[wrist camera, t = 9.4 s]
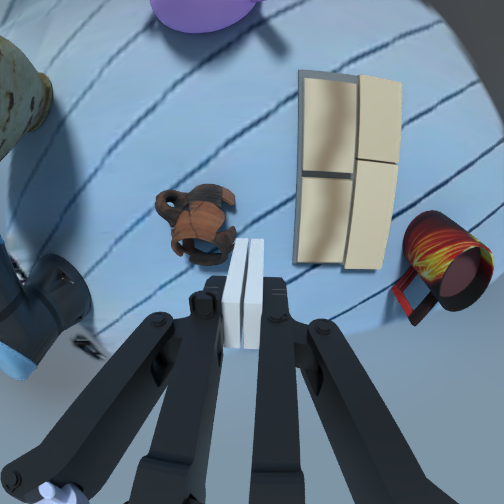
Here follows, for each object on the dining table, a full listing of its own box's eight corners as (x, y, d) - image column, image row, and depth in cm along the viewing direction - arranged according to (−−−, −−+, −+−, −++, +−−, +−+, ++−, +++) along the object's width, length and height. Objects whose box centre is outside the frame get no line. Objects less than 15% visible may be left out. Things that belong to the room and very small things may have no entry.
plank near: (301, 168, 33) (303, 170, 32) (302, 79, 28) (304, 77, 26) (350, 171, 32) (353, 173, 31) (353, 85, 27) (356, 83, 26)
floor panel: (292, 260, 40) (293, 267, 38) (298, 70, 28) (299, 67, 26) (376, 261, 39) (381, 269, 37) (395, 84, 27) (401, 82, 25)
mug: (388, 287, 41) (415, 337, 30) (410, 206, 35) (454, 240, 24) (433, 289, 40) (464, 333, 30) (457, 214, 34) (502, 248, 24)
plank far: (296, 257, 38) (297, 261, 37) (301, 176, 33) (302, 178, 32) (340, 258, 38) (342, 262, 37) (349, 179, 33) (352, 181, 32)
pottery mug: (257, 200, 37) (249, 251, 32) (222, 231, 44) (212, 277, 39) (177, 156, 32) (153, 206, 27) (154, 197, 39) (134, 243, 34)
